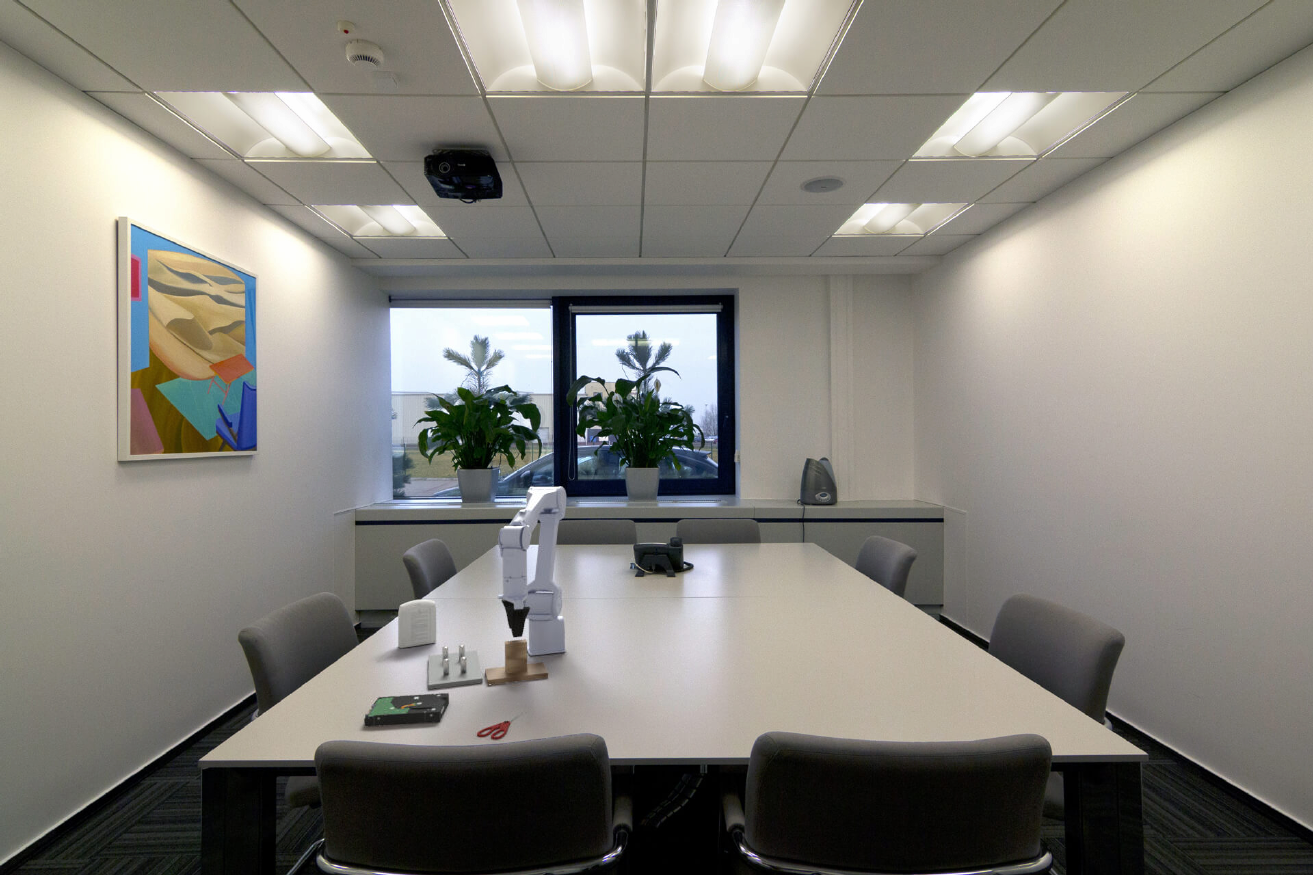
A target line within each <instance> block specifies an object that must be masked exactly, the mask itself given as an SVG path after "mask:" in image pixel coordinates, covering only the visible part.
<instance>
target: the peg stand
mask: <svg viewBox="0 0 1313 875" xmlns="http://www.w3.org/2000/svg"><path fill="white" fill-rule="evenodd" d="M465 648H466V647H465V644H460V645H458V652H453V653H452V652H451V653H449V646H448V645H447V646H446V645H445V646H442V649H441V650H442V653H441V654H433V655H428V690H434V688H436V689H443V688H450V687H459V686H466V685H467V684H468V685H474V684H482V683H481V682H484V681H483V673H482V670H481V665H480V660H479V655H478V651H477V650H471V651H469V650H468V651H465ZM468 685H467V686H468Z"/></svg>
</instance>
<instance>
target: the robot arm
mask: <svg viewBox="0 0 1313 875" xmlns="http://www.w3.org/2000/svg"><path fill="white" fill-rule="evenodd" d="M525 498H526V505H525V508H524V509H519V511H518V512H517V513H516V514H515V516H514V517H513V518H512V520H511V522H510V523H509V524H508V525H504V526H503V527H502V528H500V530H499V533H498V538H497V544H498V548H499V553H500V558H502V594H498V595H497V599H498V600H500V601H501V603H502V605H503V607H504V610H505V614H506V618H507V623H508V624H507V625H508V628H509V630H511V635H512V638H521V637H523V634H524V631H525V625H526V620H528V644H527V654H528V655H529V656H542V655H548V654H551V655H552V654H556V653H557V654H558V653H560V654H561V653H566V639H565V638H566V634H565V633H566V630H565V628H566V627H565V620H564V616H563V615H560V614H561V612H562V609H563V597H562V596H563V594H562V593H563V590H562V588H561V586H559V585H558V583H556V582H555V581H554V570H555V563H556V562H555V559H556V549H557V540H558V529H559V524H560V521H561V520H562V519H565V515H566V511H567V508H566V507H567V493H566V489H565V488H564V487H563V486H530V487H529V488H528V489H527V491H526V497H525ZM538 522H540V527H539V528H540V529H539V535H538V545H537V556H536V563H535V564H536V565H535V575H534V579H533V580H532V581H531V582H529V583H528V562H527V561H528V560H527V559H528V558H527V557H528V554H527V553H528V552H527V551H528V549H530V548H529V547H530V545H531V539H532V536H533V535H532V533H533V531H534V529H535V528H536V527H537V525H538Z"/></svg>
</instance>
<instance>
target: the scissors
mask: <svg viewBox="0 0 1313 875" xmlns="http://www.w3.org/2000/svg"><path fill="white" fill-rule="evenodd" d="M525 712H527V710H526V709H524V710H522V711H521V712H519V713H518V714H516V715H515V716H513V717H511V718H510V719H508V720H504V721H502V722H499V723H496V724H494V725H491V726H490V725H489V726H487V727H485V728H482V729H481V730H479V731H478V732H477V733H476V737H477V738H484V737H488V736H490V739H491V740H495V741H497V740H500V739H503V737H505V735H507V732H508V730H509V727H510V725H511V723H513V722H514V721H515V720H516V719H518V718H519V717H520V716H522V715H523V714H524V713H525ZM486 731H487V732H486ZM485 732H486V733H485ZM501 732H502V733H501ZM500 733H501V734H500ZM499 734H500V735H499ZM496 735H498V736H496Z"/></svg>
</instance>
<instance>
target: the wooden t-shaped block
mask: <svg viewBox="0 0 1313 875" xmlns="http://www.w3.org/2000/svg"><path fill="white" fill-rule="evenodd" d="M527 645H528V641H527V639H526V638H525V639H523V638H522V639H515V640H506V641H504V666H500V667H498V666H497V667H492V668H491V667H490V668H485V669H484V674H485V679H486V684H487V686H490V685H489V684H494V685H499V684H500V683H502V684H507V683H506V682H510V683H516V682H515V681H518V682H523V681H522V680H526V681H532V680H540V679H541V678H542V679H548V678H549V672H548V670H547V668H546V665H545V664H544V662H533V663H528V651H527ZM542 679H541V680H542ZM500 685H501V684H500Z"/></svg>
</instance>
